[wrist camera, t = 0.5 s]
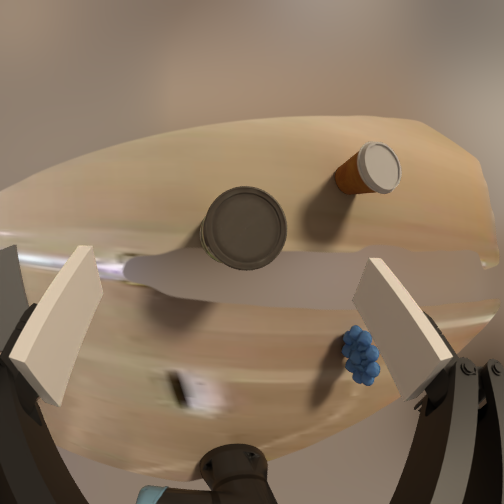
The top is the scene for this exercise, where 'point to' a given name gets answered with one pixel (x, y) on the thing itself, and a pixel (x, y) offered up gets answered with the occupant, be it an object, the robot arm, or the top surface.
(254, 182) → the top surface
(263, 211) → the coffee can
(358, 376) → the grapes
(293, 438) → the top surface
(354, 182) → the disposable coffee cup
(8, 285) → the mat
